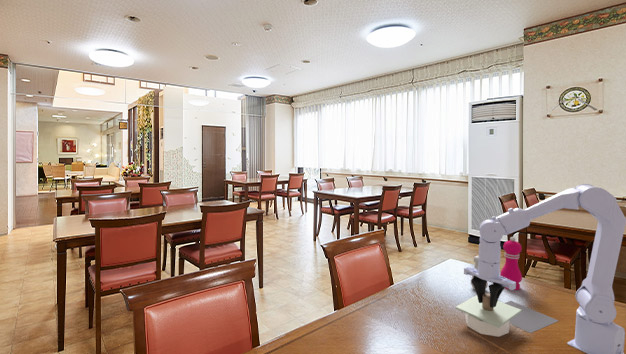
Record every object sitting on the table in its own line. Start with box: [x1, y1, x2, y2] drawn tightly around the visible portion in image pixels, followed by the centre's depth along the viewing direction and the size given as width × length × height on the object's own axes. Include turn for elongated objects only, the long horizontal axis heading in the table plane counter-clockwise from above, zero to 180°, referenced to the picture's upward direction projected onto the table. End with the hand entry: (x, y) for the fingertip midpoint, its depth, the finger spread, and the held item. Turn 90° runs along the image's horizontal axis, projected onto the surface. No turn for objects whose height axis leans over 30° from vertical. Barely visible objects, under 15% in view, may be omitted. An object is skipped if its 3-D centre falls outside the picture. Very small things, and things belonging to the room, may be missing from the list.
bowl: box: [464, 313, 510, 337], centre depth 98 cm, size 11×11×4 cm
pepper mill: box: [500, 236, 523, 291], centre depth 125 cm, size 7×7×20 cm
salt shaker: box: [470, 255, 489, 291], centre depth 123 cm, size 6×6×13 cm
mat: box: [504, 300, 559, 334], centre depth 104 cm, size 15×15×1 cm
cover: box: [455, 292, 522, 328], centre depth 98 cm, size 13×13×5 cm
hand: (487, 304), depth 98 cm, fingers closed on cover, 3 cm apart
